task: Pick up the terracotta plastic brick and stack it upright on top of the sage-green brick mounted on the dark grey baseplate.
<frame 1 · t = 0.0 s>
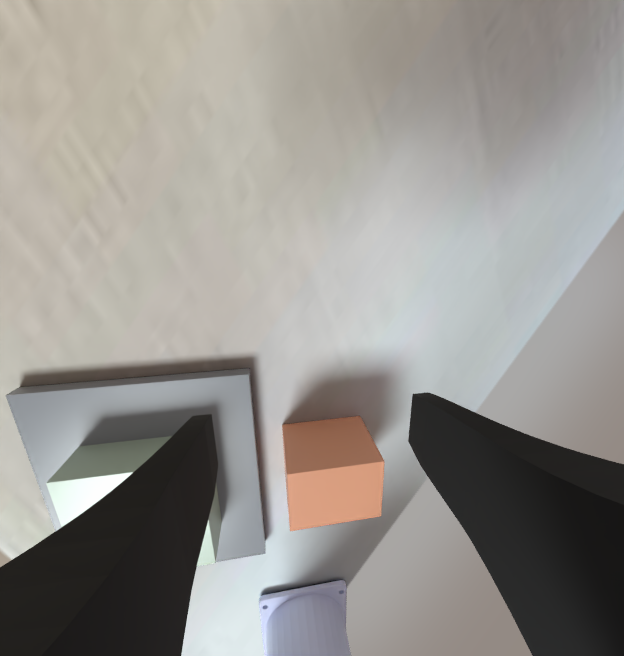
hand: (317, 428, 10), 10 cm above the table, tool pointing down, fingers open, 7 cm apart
top brick: (321, 443, 23), on the table
tower base: (161, 476, 21), on the table
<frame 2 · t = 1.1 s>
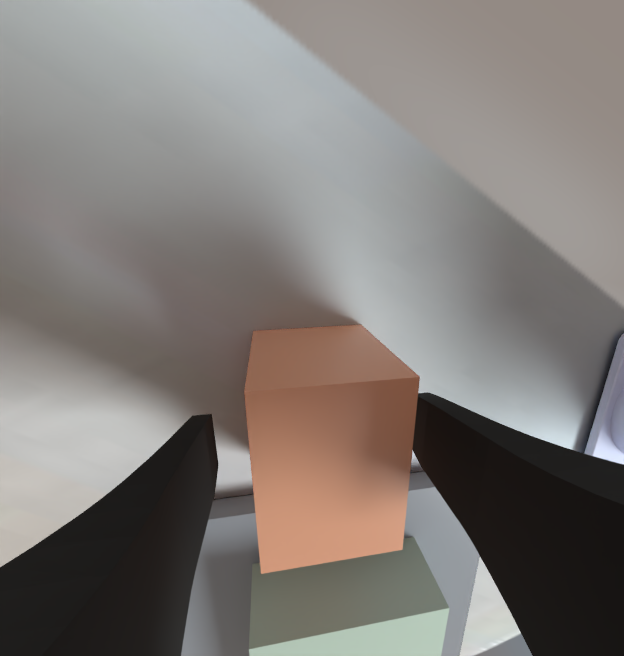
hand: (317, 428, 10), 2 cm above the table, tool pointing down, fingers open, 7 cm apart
top brick: (309, 392, 13), on the table
tower base: (331, 584, 16), on the table
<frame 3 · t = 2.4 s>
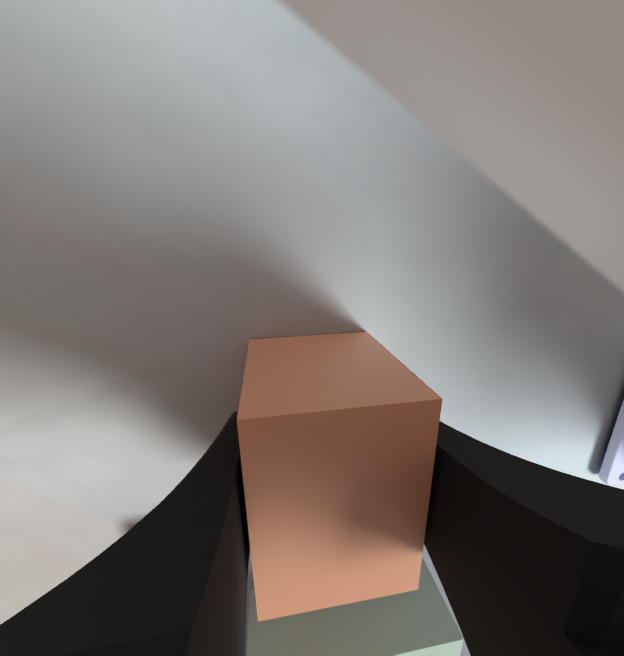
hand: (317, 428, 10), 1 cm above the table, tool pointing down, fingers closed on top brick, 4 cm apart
top brick: (311, 406, 12), on the table, touching gripper
tower base: (334, 606, 15), on the table
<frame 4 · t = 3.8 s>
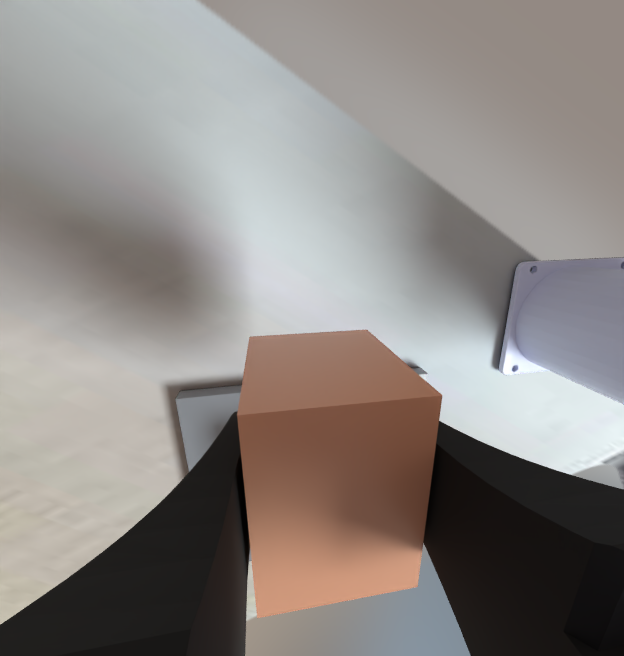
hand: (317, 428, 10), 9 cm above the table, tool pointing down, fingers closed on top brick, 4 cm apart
top brick: (311, 404, 12), point 7 cm above the table, touching gripper
tower base: (310, 465, 21), on the table
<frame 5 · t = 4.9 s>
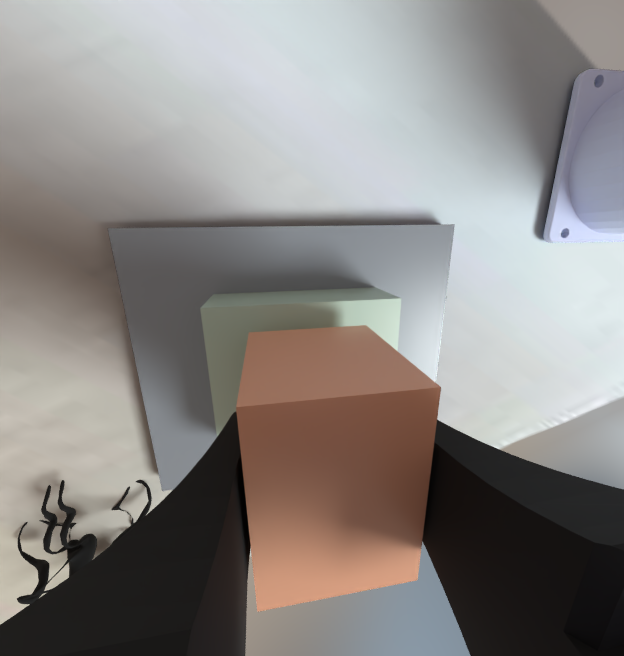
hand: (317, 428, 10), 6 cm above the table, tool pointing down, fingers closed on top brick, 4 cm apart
creature: (100, 516, 18), on the table
top brick: (310, 400, 12), point 5 cm above the table, touching gripper
tower base: (297, 358, 16), on the table
when the fingers open (6 cm above the table, at t = 5.7 s): top brick stays where it is, resting on tower base.
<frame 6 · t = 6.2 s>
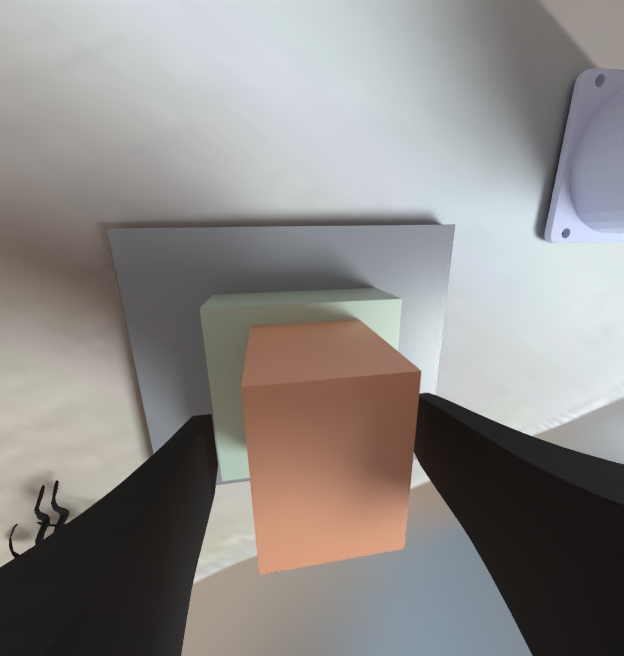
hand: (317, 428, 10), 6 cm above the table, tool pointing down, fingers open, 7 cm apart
creature: (93, 517, 18), on the table
top brick: (308, 389, 13), point 4 cm above the table, touching tower base
tower base: (297, 358, 16), on the table
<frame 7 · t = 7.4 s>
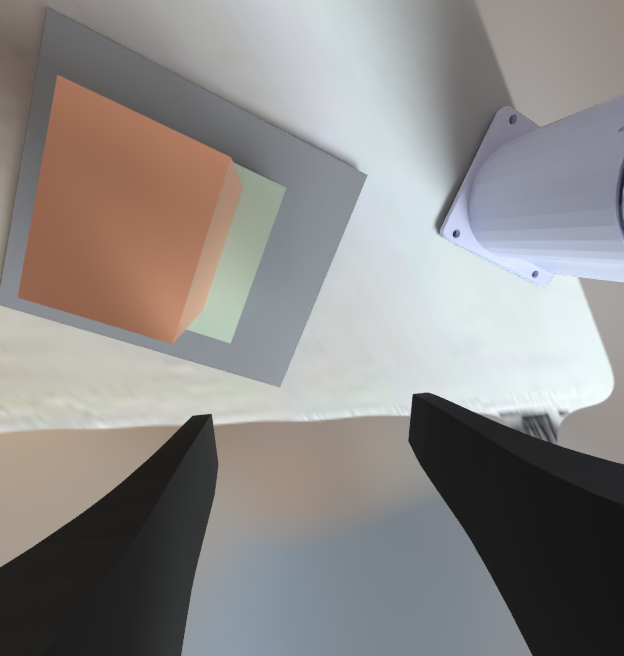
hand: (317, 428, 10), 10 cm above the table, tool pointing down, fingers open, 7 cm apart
top brick: (173, 232, 13), point 4 cm above the table, touching tower base
tower base: (192, 237, 17), on the table
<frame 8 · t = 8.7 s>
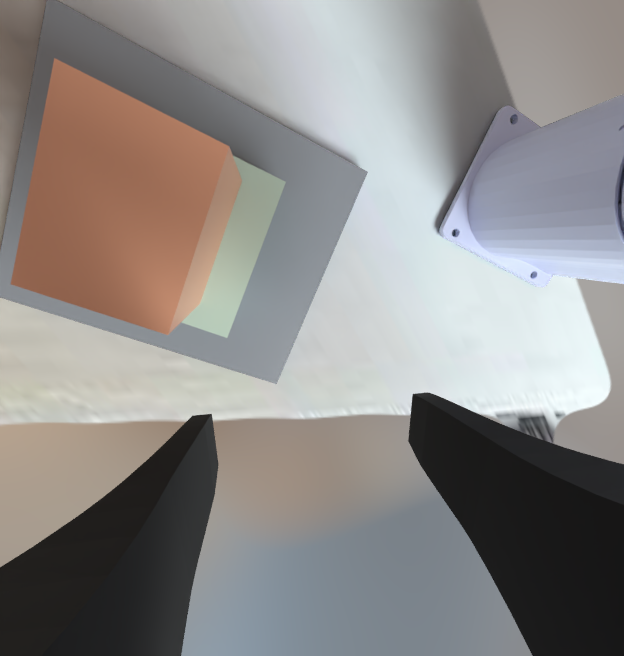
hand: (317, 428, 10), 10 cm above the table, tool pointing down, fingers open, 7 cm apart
top brick: (171, 224, 13), point 4 cm above the table, touching tower base
tower base: (191, 231, 17), on the table
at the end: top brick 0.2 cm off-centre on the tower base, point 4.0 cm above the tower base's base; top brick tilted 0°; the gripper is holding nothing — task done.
